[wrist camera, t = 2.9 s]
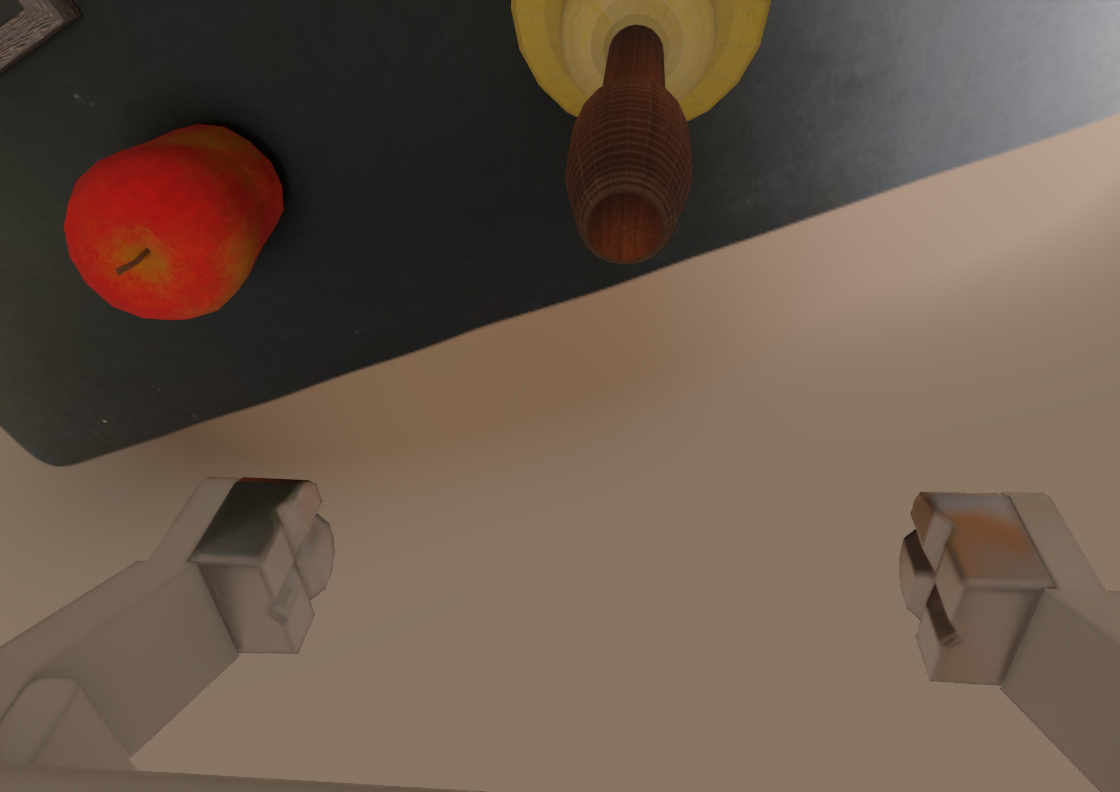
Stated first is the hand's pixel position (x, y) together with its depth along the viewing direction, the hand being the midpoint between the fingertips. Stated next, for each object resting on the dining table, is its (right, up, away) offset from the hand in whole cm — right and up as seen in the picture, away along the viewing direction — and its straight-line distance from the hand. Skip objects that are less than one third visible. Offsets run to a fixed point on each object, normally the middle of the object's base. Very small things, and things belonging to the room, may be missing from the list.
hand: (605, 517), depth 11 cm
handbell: (+3, +20, +28) cm, 35 cm away
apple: (-19, +14, +35) cm, 42 cm away
